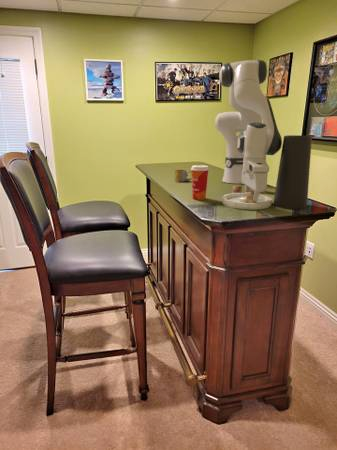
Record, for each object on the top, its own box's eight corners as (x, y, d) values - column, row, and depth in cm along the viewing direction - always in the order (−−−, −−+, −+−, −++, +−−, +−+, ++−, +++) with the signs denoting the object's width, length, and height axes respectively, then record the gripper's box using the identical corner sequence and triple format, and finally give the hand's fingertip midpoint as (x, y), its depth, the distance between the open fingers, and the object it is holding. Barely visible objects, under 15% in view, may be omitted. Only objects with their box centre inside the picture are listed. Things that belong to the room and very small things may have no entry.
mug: (175, 182, 196) (175, 171, 194) (173, 180, 202) (173, 169, 200) (195, 182, 197) (195, 170, 195) (193, 180, 204) (193, 169, 201)
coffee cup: (188, 196, 160) (189, 165, 155) (206, 196, 160) (207, 164, 156) (191, 200, 152) (192, 167, 147) (209, 200, 153) (210, 167, 148)
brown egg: (236, 195, 164) (236, 184, 162) (242, 196, 161) (243, 186, 159) (230, 196, 162) (230, 185, 160) (236, 197, 158) (237, 187, 157)
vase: (288, 210, 136) (297, 137, 127) (266, 203, 148) (273, 135, 139) (313, 207, 141) (323, 136, 132) (290, 200, 153) (298, 134, 144)
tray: (244, 196, 161) (245, 191, 161) (281, 204, 145) (281, 199, 144) (212, 202, 150) (212, 196, 149) (248, 212, 134) (248, 206, 133)
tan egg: (244, 203, 143) (245, 192, 142) (254, 203, 144) (255, 191, 142) (247, 206, 139) (248, 194, 138) (257, 205, 140) (258, 194, 138)
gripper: (239, 161, 146) (237, 192, 150) (254, 168, 126) (252, 203, 131) (253, 161, 146) (250, 192, 151) (271, 168, 127) (267, 203, 131)
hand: (251, 197), depth 140 cm, fingers open, 8 cm apart
